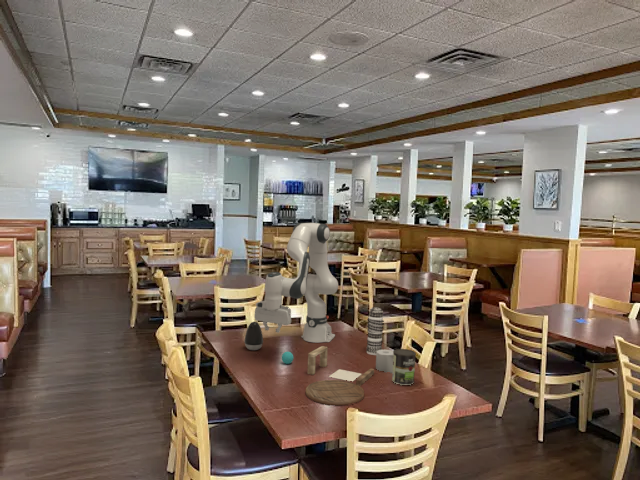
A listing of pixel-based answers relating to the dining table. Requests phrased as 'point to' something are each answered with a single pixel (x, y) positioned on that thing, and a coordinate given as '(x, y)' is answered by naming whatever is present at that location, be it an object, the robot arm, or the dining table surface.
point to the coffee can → (403, 366)
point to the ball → (287, 357)
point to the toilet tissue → (384, 360)
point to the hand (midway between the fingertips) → (272, 331)
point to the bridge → (312, 358)
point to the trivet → (334, 392)
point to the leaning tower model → (375, 330)
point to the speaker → (253, 336)
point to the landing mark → (345, 375)
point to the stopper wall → (364, 377)
